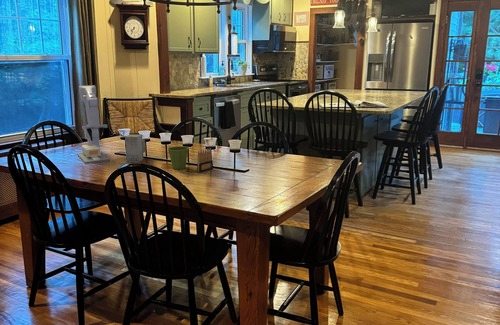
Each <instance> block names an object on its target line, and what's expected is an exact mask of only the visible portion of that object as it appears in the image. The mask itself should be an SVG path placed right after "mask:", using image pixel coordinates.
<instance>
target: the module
mask: <svg viewBox="0 0 500 325" xmlns="http://www.w3.org/2000/svg"><path fill="white" fill-rule="evenodd" d="M101 152H102V151H101V147H100V148H99V147H96V148H87V149H85V153H86V157H94V156H101Z"/></svg>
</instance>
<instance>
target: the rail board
mask: <svg viewBox="0 0 500 325" xmlns="http://www.w3.org/2000/svg"><path fill="white" fill-rule="evenodd" d="M96 147H98V146H96V145H95V144H92V145H88V144H83V145H81V152H82V153H77V157H79V159H80V160H81V161H82V162H83V163H84V164H85V165H86V164H94V163H101V162H102V163H103V162H111V161H110V160H111V159H110V158H109V157H108V156H107V155H105V154H104V153H103V152H102V153H101V156H94V157H86V153H85V149H87V148H96Z"/></svg>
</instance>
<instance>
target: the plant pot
mask: <svg viewBox="0 0 500 325" xmlns="http://www.w3.org/2000/svg"><path fill="white" fill-rule="evenodd" d="M189 149H190V147H189V146H184V145H181V146H180V145H179V146H178V145H177V146H171V147H168V148H167V152H168V154H169V158H170V162H171V166H172V169H173V170H184V169H186V167H187V161H188V160H187V158H188V153H189Z"/></svg>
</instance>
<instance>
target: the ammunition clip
mask: <svg viewBox="0 0 500 325" xmlns="http://www.w3.org/2000/svg"><path fill="white" fill-rule="evenodd" d="M212 170H214V161H213V153H212V148H211V147H209V148H205V149H200V150H198V151H197V162H196V173H198V174H201V173H205V172H208V171H212Z"/></svg>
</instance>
